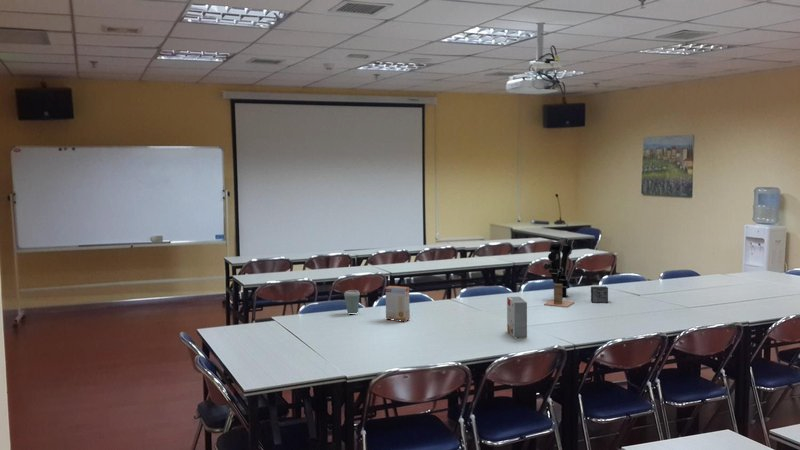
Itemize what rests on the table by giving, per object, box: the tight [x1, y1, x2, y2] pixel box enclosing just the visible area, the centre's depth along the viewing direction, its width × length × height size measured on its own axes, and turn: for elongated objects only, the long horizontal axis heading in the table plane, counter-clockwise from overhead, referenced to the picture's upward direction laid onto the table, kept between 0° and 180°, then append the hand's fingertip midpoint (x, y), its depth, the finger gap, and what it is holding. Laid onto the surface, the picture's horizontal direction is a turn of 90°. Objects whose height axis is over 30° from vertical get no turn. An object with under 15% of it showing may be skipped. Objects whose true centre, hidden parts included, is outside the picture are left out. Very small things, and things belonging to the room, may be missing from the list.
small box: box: [590, 285, 609, 304], centre depth 443 cm, size 11×6×10 cm, turn 84°
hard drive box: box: [506, 296, 528, 338], centre depth 361 cm, size 16×8×20 cm, turn 5°
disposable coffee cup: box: [343, 289, 361, 314], centre depth 419 cm, size 11×11×15 cm
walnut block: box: [553, 283, 563, 304], centre depth 436 cm, size 5×5×13 cm
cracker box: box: [385, 285, 411, 322], centre depth 400 cm, size 14×6×21 cm, turn 59°
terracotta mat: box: [543, 299, 575, 308], centre depth 439 cm, size 16×16×1 cm
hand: (555, 282), depth 450 cm, fingers open, 9 cm apart
